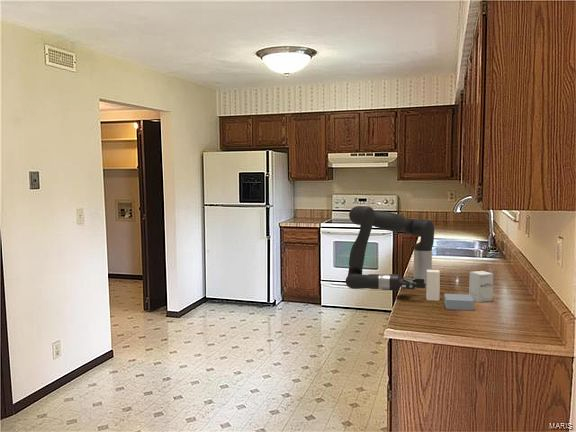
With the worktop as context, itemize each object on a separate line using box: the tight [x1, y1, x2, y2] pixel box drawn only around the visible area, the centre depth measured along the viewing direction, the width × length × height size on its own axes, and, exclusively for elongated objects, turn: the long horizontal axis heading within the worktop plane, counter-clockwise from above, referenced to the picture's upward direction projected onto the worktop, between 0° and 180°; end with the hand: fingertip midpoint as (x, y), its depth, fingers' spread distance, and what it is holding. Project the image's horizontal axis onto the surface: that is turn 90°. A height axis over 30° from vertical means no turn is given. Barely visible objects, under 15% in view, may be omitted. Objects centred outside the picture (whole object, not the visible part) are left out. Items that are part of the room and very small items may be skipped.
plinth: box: [443, 293, 475, 311], centre depth 210 cm, size 11×11×4 cm
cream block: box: [425, 269, 441, 301], centre depth 222 cm, size 6×6×13 cm
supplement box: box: [468, 270, 494, 303], centre depth 219 cm, size 7×7×13 cm
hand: (424, 283), depth 223 cm, fingers open, 8 cm apart
